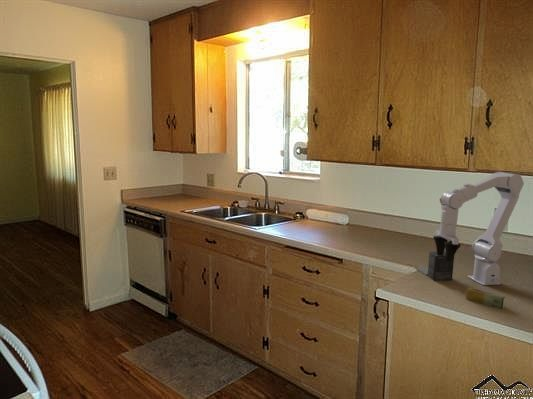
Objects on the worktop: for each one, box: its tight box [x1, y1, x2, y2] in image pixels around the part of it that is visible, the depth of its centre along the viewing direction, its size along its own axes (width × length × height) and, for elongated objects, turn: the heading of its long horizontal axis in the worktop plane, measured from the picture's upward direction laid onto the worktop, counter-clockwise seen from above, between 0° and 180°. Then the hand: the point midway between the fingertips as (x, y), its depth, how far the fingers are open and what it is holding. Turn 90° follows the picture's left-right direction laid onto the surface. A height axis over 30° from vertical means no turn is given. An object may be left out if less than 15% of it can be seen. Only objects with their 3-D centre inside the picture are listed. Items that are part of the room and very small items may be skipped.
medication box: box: [465, 287, 506, 310], centre depth 146 cm, size 12×3×4 cm, turn 49°
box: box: [427, 250, 455, 281], centre depth 169 cm, size 8×6×11 cm
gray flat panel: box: [414, 266, 428, 276], centre depth 177 cm, size 9×8×1 cm
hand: (444, 257), depth 162 cm, fingers open, 7 cm apart
